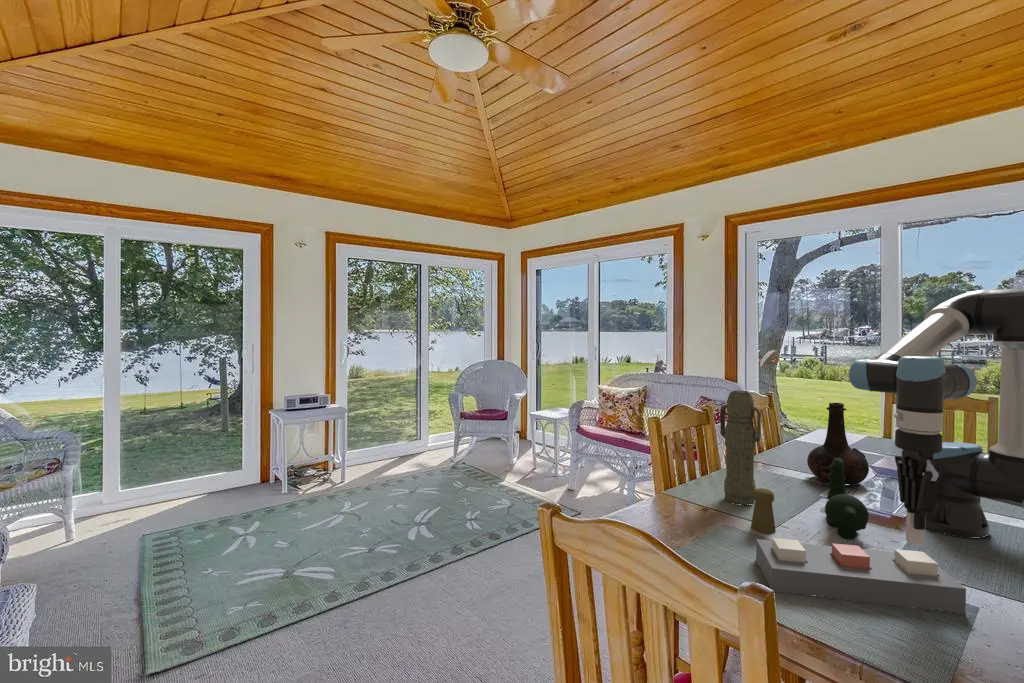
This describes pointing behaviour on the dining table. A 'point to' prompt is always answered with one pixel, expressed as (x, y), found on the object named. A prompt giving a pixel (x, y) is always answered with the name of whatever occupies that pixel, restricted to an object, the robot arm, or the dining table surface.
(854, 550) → the middle key
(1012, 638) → the dining table surface
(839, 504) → the toy figurine
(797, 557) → the far key
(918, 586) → the key panel
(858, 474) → the glass bottle
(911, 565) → the near key
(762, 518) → the cork
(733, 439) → the thermos
